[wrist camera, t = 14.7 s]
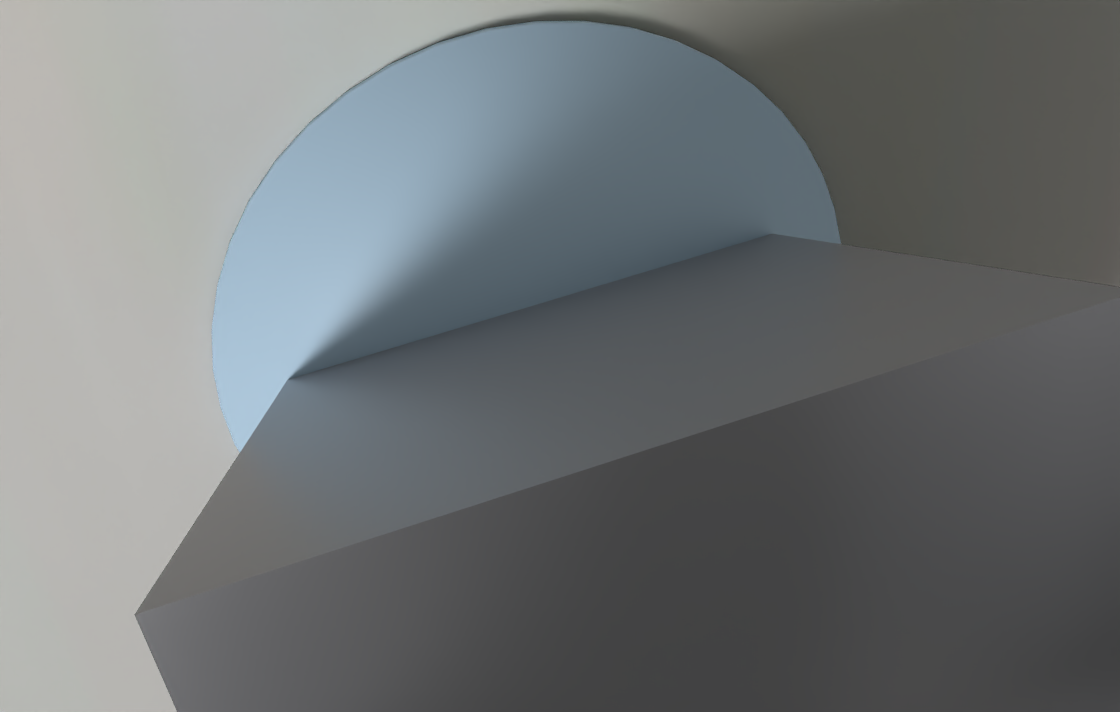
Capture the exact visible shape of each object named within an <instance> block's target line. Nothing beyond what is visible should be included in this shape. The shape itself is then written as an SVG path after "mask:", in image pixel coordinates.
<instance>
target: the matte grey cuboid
mask: <svg viewBox="0 0 1120 712" xmlns="http://www.w3.org/2000/svg"><path fill="white" fill-rule="evenodd" d="M135 617H136V619H137V621H138V624H139V626H140V628H141V630H142V633H143V635H144V637H145V639H146V642H147V644H148V646H149V649H150V651H151V653H152V655H153V658H154V660H155V662H156V664H157V667H158V669H159V671H160V673H161V676H162V678H163V680H164V683H165V685H166V687H167V689H168V692H169V694H170V696H171V698H172V701H173V703H174V705H175V708H176V710H177V712H1120V287H1116V286H1110V285H1103V284H1097V283H1090V282H1084V281H1077V280H1071V279H1064V278H1058V277H1051V276H1045V275H1038V274H1032V273H1025V272H1019V271H1012V270H1006V269H999V268H993V267H986V266H980V265H973V264H967V263H960V262H954V261H947V260H941V259H934V258H928V257H921V256H915V255H908V254H902V253H895V252H889V251H882V250H876V249H869V248H863V247H856V246H850V245H843V244H837V243H830V242H824V241H817V240H810V239H804V238H797V237H791V236H784V235H778V234H770V235H766V236H763V237H760V238H756V239H753V240H750V241H746V242H743V243H740V244H736V245H733V246H730V247H726V248H723V249H720V250H716V251H713V252H710V253H706V254H703V255H700V256H696V257H693V258H690V259H686V260H683V261H680V262H676V263H673V264H670V265H667V266H663V267H660V268H657V269H653V270H650V271H647V272H643V273H640V274H637V275H633V276H630V277H627V278H623V279H620V280H617V281H613V282H610V283H607V284H603V285H600V286H597V287H593V288H590V289H587V290H583V291H580V292H577V293H573V294H570V295H567V296H563V297H560V298H557V299H554V300H550V301H547V302H544V303H540V304H537V305H534V306H530V307H527V308H524V309H520V310H517V311H514V312H510V313H507V314H504V315H500V316H497V317H494V318H490V319H487V320H484V321H480V322H477V323H474V324H470V325H467V326H464V327H460V328H457V329H454V330H450V331H447V332H444V333H441V334H437V335H434V336H431V337H427V338H424V339H421V340H417V341H414V342H411V343H407V344H404V345H401V346H397V347H394V348H391V349H387V350H384V351H381V352H377V353H374V354H371V355H367V356H364V357H361V358H357V359H354V360H351V361H347V362H344V363H341V364H337V365H334V366H331V367H327V368H324V369H321V370H318V371H314V372H311V373H308V374H304V375H301V376H298V377H294V378H291V379H288V380H287V381H286V383H285V384H284V386H283V387H282V389H281V390H280V392H279V393H278V395H277V397H276V398H275V400H274V401H273V403H272V404H271V406H270V407H269V409H268V410H267V412H266V413H265V415H264V417H263V418H262V420H261V421H260V423H259V424H258V426H257V427H256V429H255V430H254V432H253V433H252V435H251V437H250V438H249V440H248V441H247V443H246V444H245V446H244V447H243V449H242V450H241V452H240V453H239V455H238V457H237V458H236V460H235V461H234V463H233V464H232V466H231V467H230V469H229V470H228V472H227V473H226V475H225V476H224V478H223V480H222V481H221V483H220V484H219V486H218V487H217V489H216V490H215V492H214V493H213V495H212V496H211V498H210V500H209V501H208V503H207V504H206V506H205V507H204V509H203V510H202V512H201V513H200V515H199V516H198V518H197V520H196V521H195V523H194V524H193V526H192V527H191V529H190V530H189V532H188V533H187V535H186V536H185V538H184V540H183V541H182V543H181V544H180V546H179V547H178V549H177V550H176V552H175V553H174V555H173V556H172V558H171V560H170V561H169V563H168V564H167V566H166V567H165V569H164V570H163V572H162V573H161V575H160V576H159V578H158V580H157V581H156V583H155V584H154V586H153V587H152V589H151V590H150V592H149V593H148V595H147V596H146V598H145V600H144V601H143V603H142V604H141V606H140V607H139V609H138V610H137V612H136V613H135Z"/></svg>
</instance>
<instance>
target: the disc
mask: <svg viewBox="0 0 1120 712" xmlns="http://www.w3.org/2000/svg"><path fill="white" fill-rule="evenodd" d="M770 234H778V235H784V236H791V237H797V238H804V239H810V240H817V241H824V242H830V243H837V244H841V241H840V236H839V230H838V225H837V219H836V214H835V209H834V206H833V203H832V200H831V197H830V194H829V191H828V188H827V185H826V183H825V180H824V177H823V174H822V172H821V171H820V169H819V167H818V165H817V163H816V161H815V159H814V157H813V156H812V154H811V152H810V150H809V148H808V146H807V144H806V142H805V141H804V140H803V139H802V137H801V136H800V135H799V133H798V132H797V131H796V129H795V128H794V127H793V125H792V124H791V123H790V121H789V120H788V119H787V118H786V116H785V115H784V114H783V112H782V111H781V110H780V109H779V108H777V107H776V106H775V105H774V104H773V103H772V102H771V101H770V100H769V99H768V98H767V97H766V96H765V95H764V94H763V93H762V92H761V91H759V90H758V89H757V88H756V87H755V86H754V85H753V84H752V83H750V82H749V81H747V80H746V79H744V78H743V77H741V76H740V75H738V74H737V73H735V72H734V71H732V70H731V69H729V68H728V67H726V66H725V65H724V64H722V63H721V62H719V61H717V60H716V59H714V58H712V57H710V56H708V55H706V54H703V53H701V52H699V51H697V50H695V49H693V48H691V47H689V46H686V45H684V44H682V43H680V42H678V41H676V40H673V39H670V38H666V37H663V36H660V35H656V34H653V33H649V32H646V31H643V30H639V29H636V28H632V27H626V26H619V25H612V24H605V23H597V22H590V21H533V22H526V23H519V24H513V25H506V26H499V27H493V28H486V29H483V30H479V31H476V32H472V33H469V34H466V35H462V36H459V37H455V38H452V39H449V40H445V41H442V42H438V43H436V44H434V45H431V46H429V47H427V48H425V49H422V50H420V51H418V52H416V53H414V54H411V55H409V56H407V57H405V58H402V59H400V60H398V61H396V62H394V63H391V64H389V65H388V66H386V67H385V68H383V69H381V70H380V71H378V72H377V73H375V74H374V75H372V76H370V77H369V78H367V79H366V80H364V81H362V82H361V83H359V84H358V85H356V86H354V87H353V88H351V89H350V90H348V91H347V92H345V93H344V94H343V95H342V96H341V97H339V98H338V99H337V100H336V101H335V102H333V103H332V104H331V105H330V106H329V107H327V108H326V109H325V110H324V111H323V112H322V113H320V114H319V115H318V116H317V117H316V118H314V119H313V120H312V121H311V122H310V123H308V125H307V126H306V127H305V128H304V129H303V130H302V131H301V132H300V133H299V135H298V136H297V137H296V138H295V139H294V140H293V141H292V142H291V143H290V145H289V146H288V147H287V148H286V149H285V150H284V151H283V152H282V154H281V155H280V156H279V157H278V158H277V159H276V160H275V162H274V163H273V165H272V166H271V168H270V169H269V171H268V172H267V174H266V175H265V177H264V178H263V180H262V181H261V183H260V184H259V186H258V187H257V189H256V190H255V192H254V193H253V195H252V196H251V198H250V199H249V202H248V204H247V206H246V208H245V210H244V212H243V214H242V217H241V219H240V221H239V223H238V225H237V227H236V229H235V232H234V234H233V236H232V238H231V240H230V243H229V247H228V250H227V254H226V257H225V260H224V264H223V267H222V271H221V274H220V278H219V281H218V286H217V292H216V300H215V308H214V316H213V324H212V352H213V372H214V377H215V382H216V387H217V391H218V396H219V401H220V406H221V410H222V412H223V415H224V418H225V420H226V423H227V425H228V428H229V431H230V433H231V436H232V439H233V441H234V443H235V445H236V447H237V449H238V450H239V452H241V450H242V449H243V447H244V446H245V444H246V443H247V441H248V440H249V438H250V437H251V435H252V433H253V432H254V430H255V429H256V427H257V426H258V424H259V423H260V421H261V420H262V418H263V417H264V415H265V413H266V412H267V410H268V409H269V407H270V406H271V404H272V403H273V401H274V400H275V398H276V397H277V395H278V393H279V392H280V390H281V389H282V387H283V386H284V384H285V383H286V381H287V380H288V379H291V378H294V377H298V376H301V375H304V374H308V373H311V372H314V371H318V370H321V369H324V368H327V367H331V366H334V365H337V364H341V363H344V362H347V361H351V360H354V359H357V358H361V357H364V356H367V355H371V354H374V353H377V352H381V351H384V350H387V349H391V348H394V347H397V346H401V345H404V344H407V343H411V342H414V341H417V340H421V339H424V338H427V337H431V336H434V335H437V334H441V333H444V332H447V331H450V330H454V329H457V328H460V327H464V326H467V325H470V324H474V323H477V322H480V321H484V320H487V319H490V318H494V317H497V316H500V315H504V314H507V313H510V312H514V311H517V310H520V309H524V308H527V307H530V306H534V305H537V304H540V303H544V302H547V301H550V300H554V299H557V298H560V297H563V296H567V295H570V294H573V293H577V292H580V291H583V290H587V289H590V288H593V287H597V286H600V285H603V284H607V283H610V282H613V281H617V280H620V279H623V278H627V277H630V276H633V275H637V274H640V273H643V272H647V271H650V270H653V269H657V268H660V267H663V266H667V265H670V264H673V263H676V262H680V261H683V260H686V259H690V258H693V257H696V256H700V255H703V254H706V253H710V252H713V251H716V250H720V249H723V248H726V247H730V246H733V245H736V244H740V243H743V242H746V241H750V240H753V239H756V238H760V237H763V236H766V235H770Z"/></svg>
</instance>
